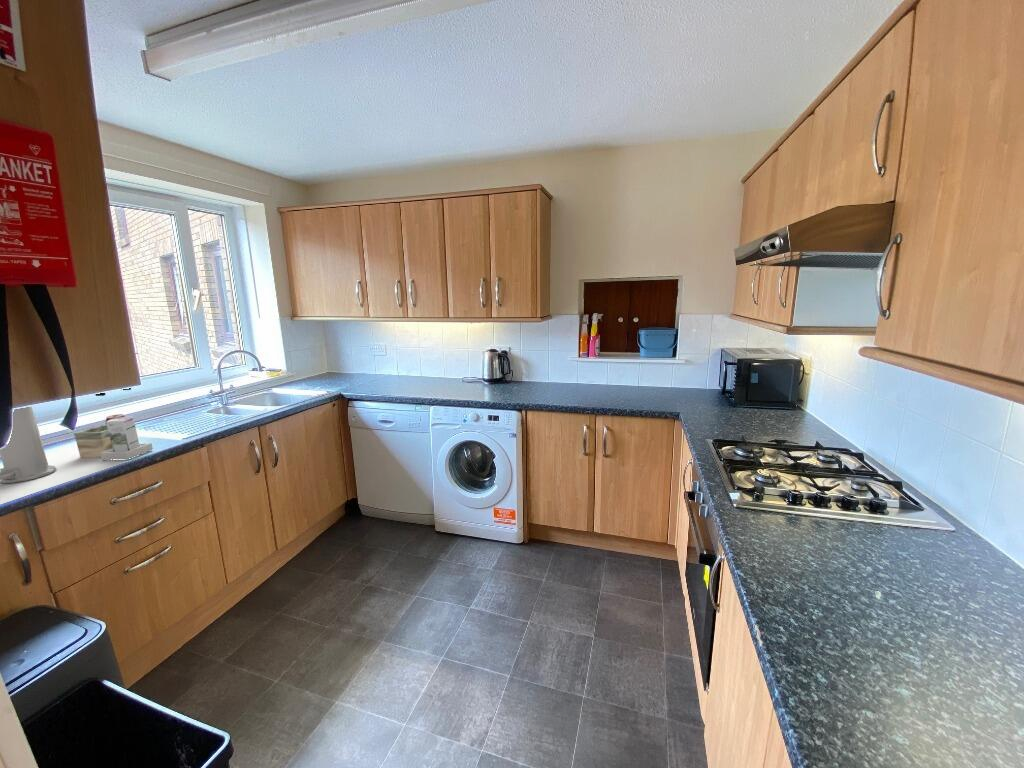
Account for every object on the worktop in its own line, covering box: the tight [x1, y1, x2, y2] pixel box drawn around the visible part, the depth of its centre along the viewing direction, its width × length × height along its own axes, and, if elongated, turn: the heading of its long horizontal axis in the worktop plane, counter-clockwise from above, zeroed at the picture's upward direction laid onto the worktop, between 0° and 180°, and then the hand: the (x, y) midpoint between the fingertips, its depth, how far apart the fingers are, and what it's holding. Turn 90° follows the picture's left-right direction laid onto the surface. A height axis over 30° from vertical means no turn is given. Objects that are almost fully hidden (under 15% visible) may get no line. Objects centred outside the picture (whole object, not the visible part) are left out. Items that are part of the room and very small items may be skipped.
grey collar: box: [100, 442, 154, 461], centre depth 159 cm, size 10×10×3 cm
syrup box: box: [105, 416, 140, 452], centre depth 158 cm, size 6×6×14 cm
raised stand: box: [73, 424, 113, 458], centre depth 163 cm, size 10×10×10 cm
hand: (114, 392), depth 155 cm, fingers open, 9 cm apart
